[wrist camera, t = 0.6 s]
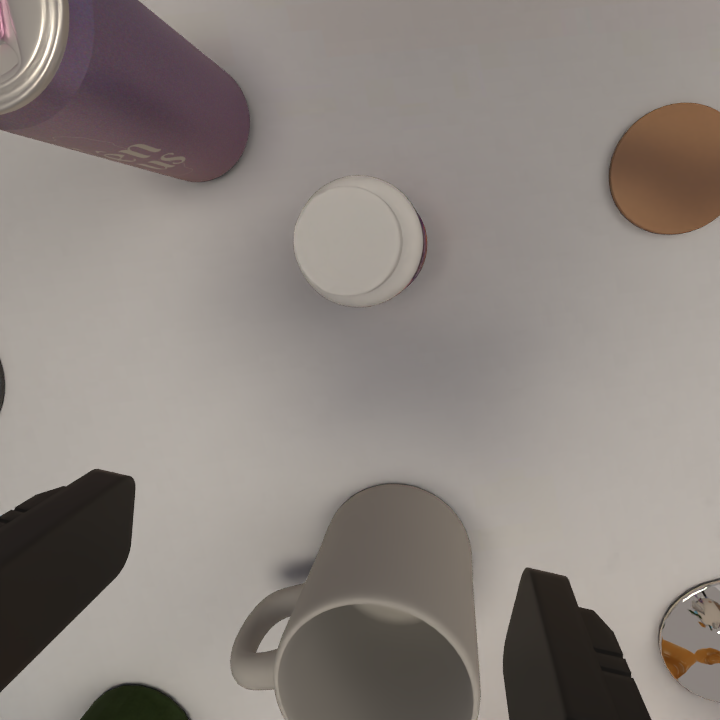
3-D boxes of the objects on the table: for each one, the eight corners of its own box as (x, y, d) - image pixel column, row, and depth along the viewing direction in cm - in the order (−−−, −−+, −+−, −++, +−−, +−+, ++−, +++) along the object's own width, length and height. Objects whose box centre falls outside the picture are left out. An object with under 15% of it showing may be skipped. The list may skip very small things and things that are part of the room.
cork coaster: (611, 109, 27) (613, 107, 27) (748, 99, 26) (752, 97, 26) (606, 236, 28) (607, 236, 28) (737, 232, 27) (740, 231, 27)
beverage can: (247, 57, 29) (46, -139, 14) (260, 177, 30) (85, 106, 16) (141, 73, 30) (-148, -95, 15) (157, 189, 31) (-98, 133, 16)
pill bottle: (394, 315, 30) (369, 343, 21) (309, 263, 31) (248, 267, 21) (448, 226, 29) (448, 213, 20) (360, 172, 29) (318, 134, 20)
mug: (449, 467, 31) (450, 577, 21) (487, 602, 33) (507, 772, 22) (255, 510, 34) (166, 629, 23) (297, 635, 35) (231, 802, 24)
